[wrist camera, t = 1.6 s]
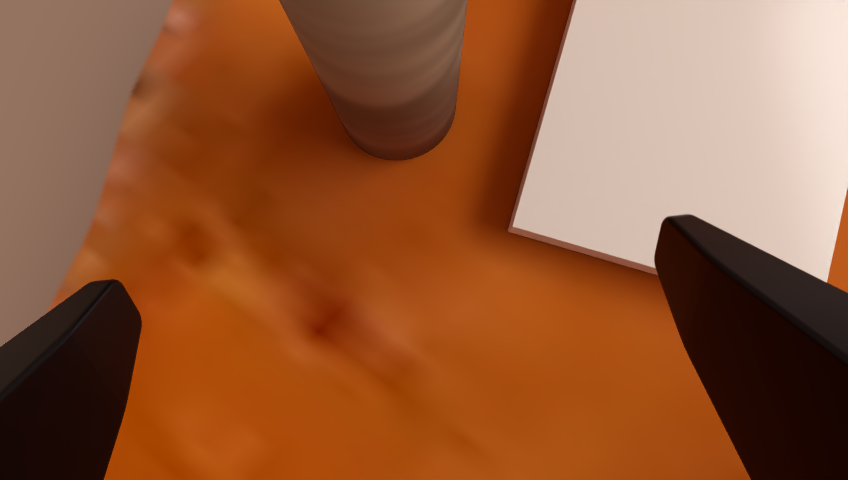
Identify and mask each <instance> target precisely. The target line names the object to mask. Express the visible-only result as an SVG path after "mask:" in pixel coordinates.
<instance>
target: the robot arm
mask: <svg viewBox="0 0 848 480" xmlns="http://www.w3.org/2000/svg"><path fill="white" fill-rule="evenodd" d="M654 263H655V268H656V271H657V274H658V277H659V279H660V282H661V285H662V288H663V290H664V293H665V296H666V299H667V301H668V304H669V307H670V310H671V313H672V315H673V318H674V321H675V324H676V326H677V329H678V332H679V335H680V337H681V340H682V342H683V345H684V347H685V349H686V351H687V353H688V355H689V358H690V360H691V362H692V364H693V366H694V368H695V370H696V372H697V374H698V376H699V378H700V380H701V382H702V383H703V385H704V387H705V389H706V391H707V393H708V395H709V397H710V399H711V401H712V403H713V405H714V407H715V409H716V411H717V413H718V415H719V417H720V419H721V421H722V423H723V425H724V427H725V429H726V431H727V433H728V435H729V437H730V439H731V441H732V443H733V445H734V447H735V449H736V451H737V453H738V455H739V457H740V459H741V461H742V463H743V465H744V467H745V469H746V471H747V473H748V475H749V477H750V479H751V480H848V293H846V292H844V291H842V290H840V289H838V288H837V287H835V286H833V285H831V284H829V283H827V282H825V281H823V280H821V279H819V278H817V277H815V276H813V275H811V274H809V273H807V272H805V271H803V270H801V269H799V268H797V267H795V266H793V265H791V264H789V263H787V262H785V261H783V260H781V259H779V258H777V257H775V256H773V255H771V254H769V253H767V252H765V251H763V250H761V249H759V248H757V247H755V246H754V245H752V244H750V243H748V242H746V241H744V240H742V239H740V238H738V237H736V236H734V235H732V234H730V233H728V232H726V231H724V230H722V229H720V228H718V227H716V226H714V225H712V224H710V223H708V222H706V221H704V220H702V219H700V218H698V217H696V216H694V215H692V214H683V215H674V216H668V217H666V218H665V219H664V220H663V221H662V224H661V227H660V232H659V236H658V241H657V245H656V250H655V255H654ZM141 326H142V321H141V316H140V313H139V311H138V309H137V308H136V306H135V304H134V303H133V301H132V299H131V298H130V296H129V294H128V293H127V291H126V289H125V287H124V286H123V284H122V283H121V282H119V281H118V280H115V279H110V280H101V281H94V282H90V283H88V284H87V285H85V286H84V287H82V288H81V289H80V290H78V291H77V292H76V293H74V294H73V295H71V296H70V297H69V298H67V299H66V300H65V301H63V302H62V303H60V304H59V305H58V306H56V307H55V308H54V309H52V310H51V311H49V312H48V313H47V314H45V315H44V316H42V317H41V318H40V319H38V320H37V321H36V322H35V323H33V324H31V325H30V326H29V327H27V328H26V329H25V330H24V331H22V332H20V333H19V334H18V335H16V336H15V337H14V338H12V339H11V340H10V341H8V342H7V343H5V344H4V345H3V346H1V347H0V480H104V477H105V474H106V471H107V467H108V464H109V461H110V458H111V455H112V451H113V448H114V445H115V442H116V439H117V435H118V432H119V429H120V426H121V423H122V419H123V415H124V412H125V408H126V404H127V400H128V395H129V390H130V385H131V380H132V374H133V369H134V364H135V359H136V354H137V348H138V343H139V338H140V333H141Z"/></svg>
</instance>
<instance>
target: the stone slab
mask: <svg viewBox="0 0 848 480" xmlns="http://www.w3.org/2000/svg"><path fill="white" fill-rule="evenodd" d="M847 187H848V0H573V3H572V6H571V10H570V13H569V17H568V20H567V24H566V27H565V31H564V34H563V38H562V41H561V45H560V48H559V52H558V55H557V59H556V62H555V66H554V69H553V73H552V76H551V80H550V83H549V87H548V90H547V94H546V97H545V101H544V104H543V108H542V111H541V115H540V118H539V122H538V125H537V129H536V132H535V136H534V140H533V143H532V147H531V150H530V154H529V157H528V161H527V164H526V168H525V171H524V175H523V178H522V182H521V185H520V189H519V192H518V196H517V199H516V203H515V206H514V210H513V213H512V217H511V220H510V224H509V227H508V232H511V233H514V234H518V235H521V236H525V237H528V238H532V239H535V240H538V241H542V242H545V243H549V244H552V245H555V246H559V247H562V248H566V249H569V250H573V251H576V252H579V253H583V254H586V255H590V256H593V257H597V258H600V259H603V260H607V261H610V262H614V263H617V264H621V265H624V266H627V267H631V268H634V269H638V270H641V271H644V272H648V273H651V274H655V275H658V274H657V271H656V268H655V263H654V255H655V250H656V245H657V241H658V236H659V232H660V227H661V224H662V221H663V220H664V219H665V218H666V217H668V216H674V215H683V214H692V215H694V216H696V217H698V218H700V219H702V220H704V221H706V222H708V223H710V224H712V225H714V226H716V227H718V228H720V229H722V230H724V231H726V232H728V233H730V234H732V235H734V236H736V237H738V238H740V239H742V240H744V241H746V242H748V243H750V244H752V245H754V246H755V247H757V248H759V249H761V250H763V251H765V252H767V253H769V254H771V255H773V256H775V257H777V258H779V259H781V260H783V261H785V262H787V263H789V264H791V265H793V266H795V267H797V268H799V269H801V270H803V271H805V272H807V273H809V274H811V275H813V276H815V277H817V278H819V279H821V280H823V281H825V282H827V279H828V274H829V270H830V265H831V260H832V256H833V251H834V247H835V242H836V238H837V233H838V228H839V224H840V219H841V215H842V210H843V205H844V201H845V196H846V192H847Z"/></svg>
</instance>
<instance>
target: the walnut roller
mask: <svg viewBox="0 0 848 480" xmlns="http://www.w3.org/2000/svg"><path fill="white" fill-rule="evenodd" d="M279 1H280V3H281V5H282V7H283V8H284V10H285V12H286V14H287V16H288V18H289V20H290V22H291V24H292V26H293V28H294V30H295V32H296V34H297V36H298V38H299V40H300V42H301V44H302V46H303V48H304V50H305V51H306V53H307V55H308V57H309V59H310V61H311V63H312V65H313V67H314V69H315V71H316V73H317V75H318V77H319V79H320V81H321V83H322V85H323V87H324V89H325V91H326V93H327V94H328V96H329V98H330V100H331V102H332V104H333V106H334V108H335V110H336V112H337V114H338V116H339V118H340V120H341V122H342V124H343V126H344V128H345V130H346V131H347V133H348V135H349V136H350V138H351V139H352V140H353V141H354V142H355V143H356V144H357V145H358V146H359V147H360V148H361V149H363V150H364V151H366V152H367V153H369V154H371V155H373V156H376V157H379V158H382V159H387V160H406V159H412V158H415V157H418V156H420V155H423V154H425V153H427V152H428V151H430V150H431V149H433V148H434V147H435V146H436V145H438V144H439V143H440V142H441V140H442V139H443V138H444V137H445V135H446V134H447V133H448V131H449V129H450V127H451V125H452V122H453V119H454V115H455V109H456V100H457V91H458V81H459V72H460V63H461V54H462V45H463V35H464V26H465V17H466V8H467V0H279Z"/></svg>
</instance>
